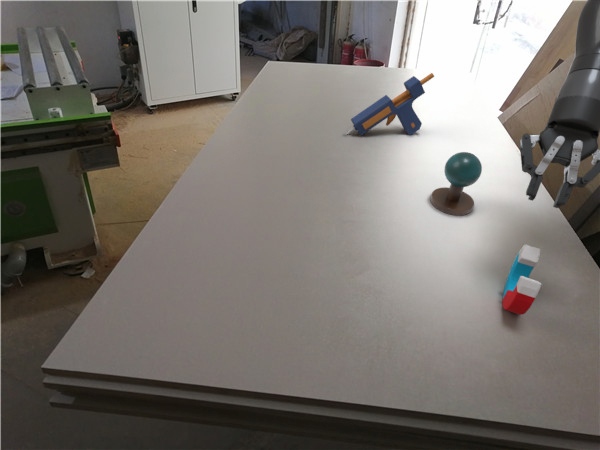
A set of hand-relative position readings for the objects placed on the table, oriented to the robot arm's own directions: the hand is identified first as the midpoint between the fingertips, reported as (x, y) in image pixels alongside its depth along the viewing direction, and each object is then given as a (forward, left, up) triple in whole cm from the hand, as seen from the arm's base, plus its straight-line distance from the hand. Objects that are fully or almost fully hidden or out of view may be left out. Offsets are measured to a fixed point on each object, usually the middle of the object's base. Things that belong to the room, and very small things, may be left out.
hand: (544, 202), depth 65 cm
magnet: (-2, +3, -20) cm, 20 cm away
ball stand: (+15, -24, -20) cm, 34 cm away
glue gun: (+43, -52, -20) cm, 70 cm away
